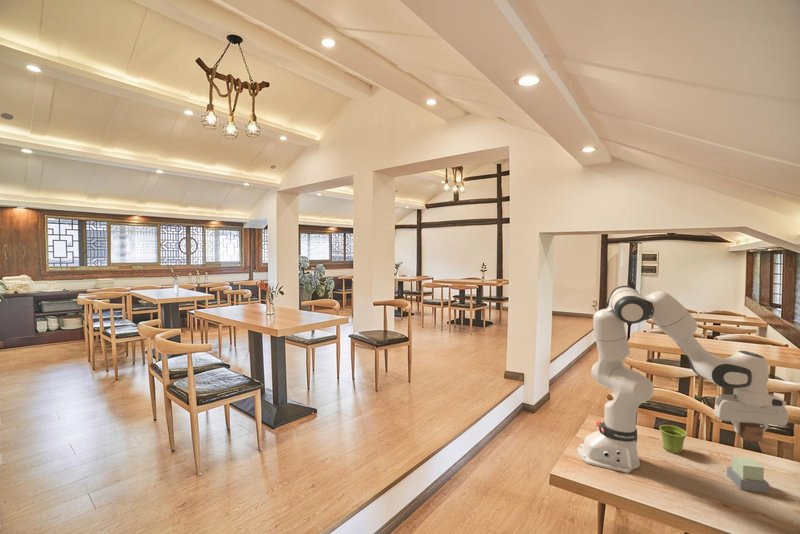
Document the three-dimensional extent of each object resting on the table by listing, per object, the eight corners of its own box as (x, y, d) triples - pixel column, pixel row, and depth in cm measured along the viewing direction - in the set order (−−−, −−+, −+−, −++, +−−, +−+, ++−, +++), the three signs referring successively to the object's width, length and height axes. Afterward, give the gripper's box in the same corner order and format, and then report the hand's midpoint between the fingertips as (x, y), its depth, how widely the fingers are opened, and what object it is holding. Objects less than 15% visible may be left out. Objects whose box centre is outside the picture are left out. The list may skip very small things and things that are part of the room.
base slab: (740, 490, 127) (740, 479, 127) (726, 476, 134) (727, 466, 134) (768, 494, 125) (768, 483, 124) (752, 480, 132) (753, 469, 132)
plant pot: (691, 457, 147) (692, 436, 146) (666, 454, 148) (666, 434, 148) (678, 444, 156) (679, 425, 155) (654, 442, 158) (655, 424, 157)
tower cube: (743, 478, 127) (743, 465, 127) (731, 468, 133) (732, 455, 133) (763, 481, 125) (763, 467, 125) (751, 470, 131) (751, 457, 131)
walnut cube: (736, 433, 132) (736, 420, 131) (752, 434, 130) (753, 421, 130) (745, 440, 127) (745, 427, 127) (762, 442, 126) (762, 428, 125)
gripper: (720, 397, 128) (719, 434, 128) (792, 402, 122) (790, 441, 123) (710, 390, 134) (709, 425, 134) (778, 395, 128) (776, 432, 129)
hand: (749, 433), depth 129 cm, fingers closed on walnut cube, 5 cm apart
